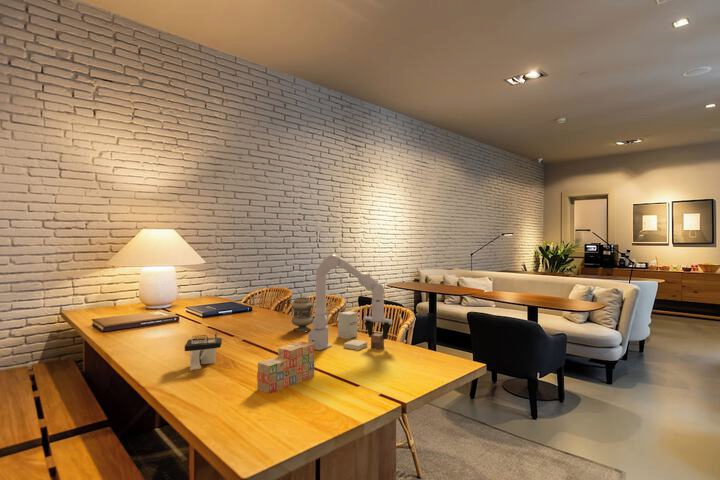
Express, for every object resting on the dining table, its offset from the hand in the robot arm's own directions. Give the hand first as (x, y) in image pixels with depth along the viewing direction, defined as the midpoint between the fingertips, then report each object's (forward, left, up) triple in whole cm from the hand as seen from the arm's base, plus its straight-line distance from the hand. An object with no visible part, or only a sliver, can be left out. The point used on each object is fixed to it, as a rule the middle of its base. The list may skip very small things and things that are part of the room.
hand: (377, 337), depth 186 cm
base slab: (-5, +9, -5) cm, 11 cm away
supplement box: (+9, +23, -5) cm, 25 cm away
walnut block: (0, 0, -5) cm, 5 cm away
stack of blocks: (-57, +4, -5) cm, 58 cm away
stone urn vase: (+7, +52, -5) cm, 53 cm away
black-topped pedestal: (-62, +44, -5) cm, 76 cm away
